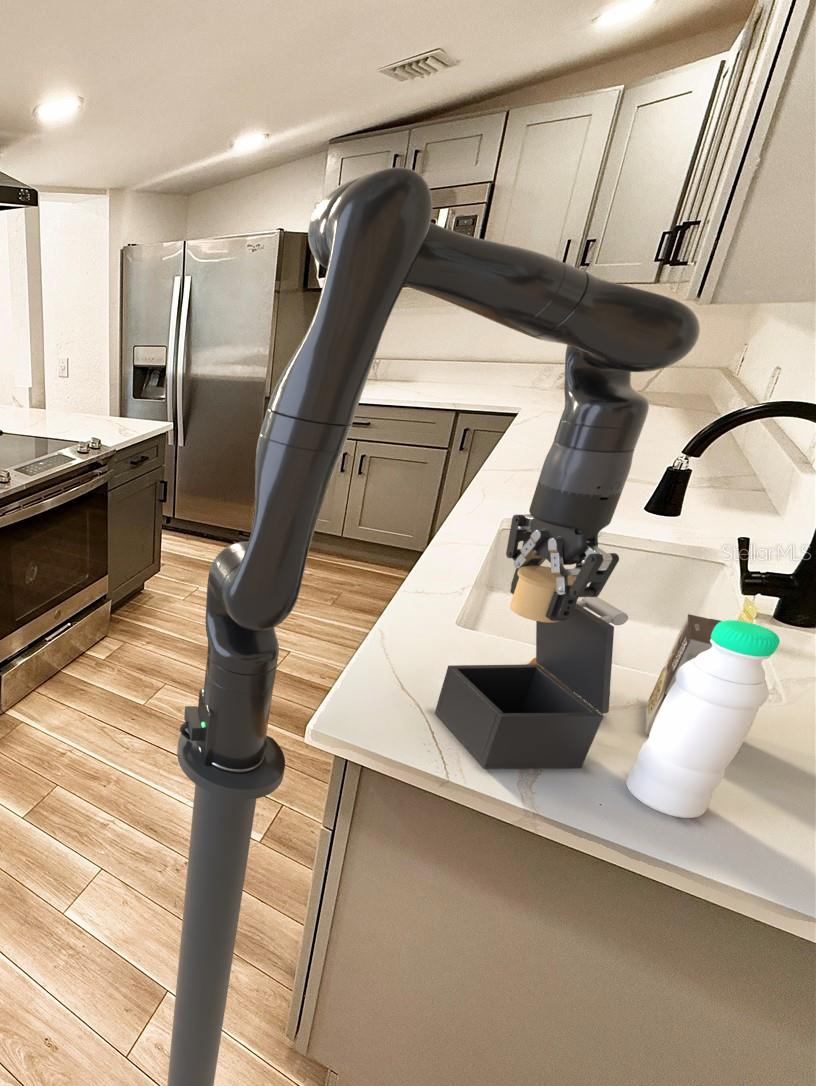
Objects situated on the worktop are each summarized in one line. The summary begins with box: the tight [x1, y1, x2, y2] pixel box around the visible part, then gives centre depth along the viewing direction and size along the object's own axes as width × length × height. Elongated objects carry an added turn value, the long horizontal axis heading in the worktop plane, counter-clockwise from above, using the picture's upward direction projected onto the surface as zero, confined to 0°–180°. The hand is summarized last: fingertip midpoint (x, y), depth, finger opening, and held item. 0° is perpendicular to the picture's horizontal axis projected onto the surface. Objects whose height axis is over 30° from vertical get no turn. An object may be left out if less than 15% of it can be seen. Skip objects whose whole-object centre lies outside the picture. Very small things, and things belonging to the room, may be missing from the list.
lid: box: [535, 596, 629, 715], centre depth 81 cm, size 13×12×5 cm
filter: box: [509, 565, 573, 623], centre depth 78 cm, size 6×6×5 cm
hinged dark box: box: [434, 663, 604, 770], centre depth 86 cm, size 13×12×9 cm
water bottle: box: [625, 619, 781, 819], centre depth 72 cm, size 7×7×25 cm
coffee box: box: [644, 613, 722, 736], centre depth 85 cm, size 9×6×16 cm
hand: (537, 606), depth 79 cm, fingers closed on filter, 6 cm apart
